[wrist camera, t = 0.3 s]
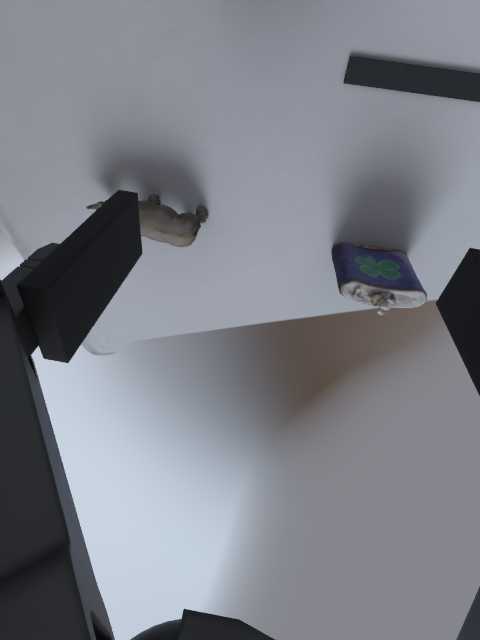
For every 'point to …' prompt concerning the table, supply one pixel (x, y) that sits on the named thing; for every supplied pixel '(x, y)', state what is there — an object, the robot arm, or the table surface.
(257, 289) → the table surface
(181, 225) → the rhino figurine
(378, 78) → the bay
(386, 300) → the flask
